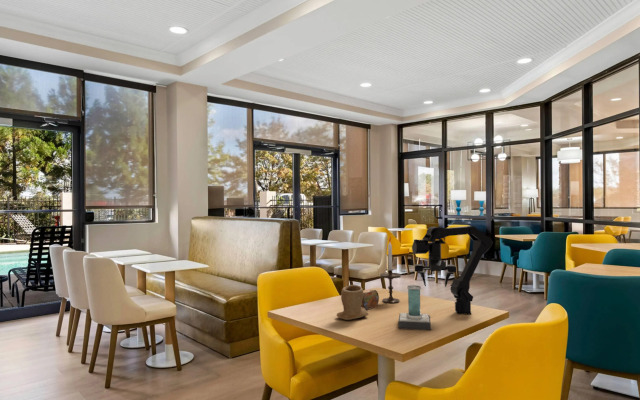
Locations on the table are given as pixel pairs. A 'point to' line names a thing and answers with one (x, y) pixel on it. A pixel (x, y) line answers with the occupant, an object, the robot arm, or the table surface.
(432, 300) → the table surface
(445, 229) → the robot arm
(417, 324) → the stand
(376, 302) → the tin
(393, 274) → the candlestick
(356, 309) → the stone cup
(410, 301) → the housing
